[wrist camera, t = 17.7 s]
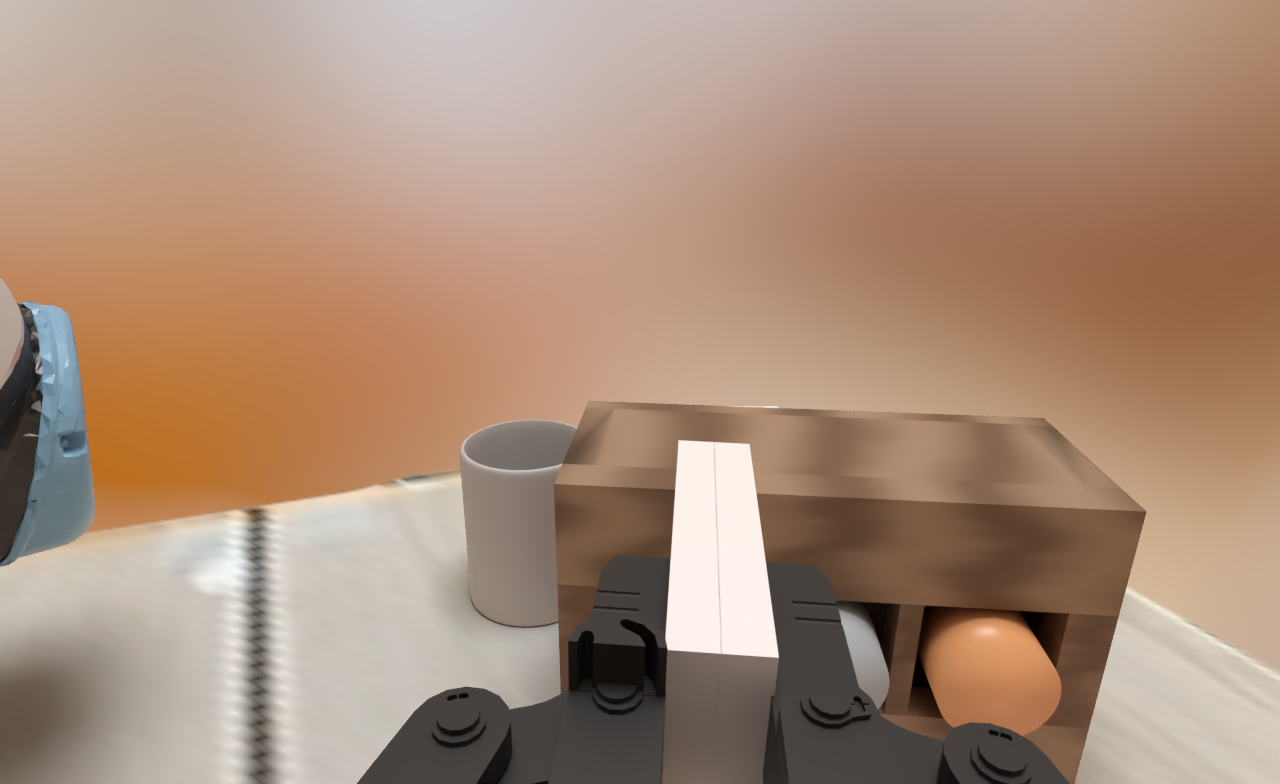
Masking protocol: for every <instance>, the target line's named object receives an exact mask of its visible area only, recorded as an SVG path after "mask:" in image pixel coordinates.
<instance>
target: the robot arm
mask: <svg viewBox="0 0 1280 784" xmlns="http://www.w3.org/2000/svg"><path fill="white" fill-rule="evenodd" d="M94 515H95V498H94V486H93V477H92V467H91V460H90V452H89V445H88V440H87V427H86V421H85V408H84V400H83V393H82V384H81V378H80V371H79V363H78V356H77V349H76V343H75V336H74V331H73V325H72V320H71V318H70V316H69V315H68V313H67V312H66V311H65V310H63V309H61V308H59V307H57V306H51V305H39V304H36V303H34V302H22V303H17V301H16V300H15V298H14V296H13V294H12V293H11V291H10V290H9V288H8V286H7V285H6V284H5V283H4V282H3V281H2V280H1V279H0V567H1V566H6V565H9V564H11V563H12V562H14V561H15V560H16V559H17V558H20V557H24V556H27V555H31V554H35V553H38V552H42V551H45V550H49V549H53V548H56V547H60V546H63V545H66V544H69V543H71V542H73V541H75V540H76V539H78V538H79V537H81V536H82V535H83V534H84V533H85V532H86V531H87V529H88V528H89V527H90V525H91V523H92V521H93V519H94ZM568 674H569V688H568V689H566V690H565V691H564V692H563V693H561V694H560V695H558V696H556V697H554V698H552V699H550V700H548V701H546V702H543V703H539V704H535V705H532V706H526V707H521V708H515V709H510V710H509V707H508V706H507V705H506V704H505V702H504V701H503V700H502V699H501V698H500V696H498V695H496V694H494V693H492V692H490V691H488V690H486V689H482V688H472V687H462V688H456V689H451V690H446V691H444V692H442V693H440V694H438V695H435V696H433V697H431V698H429V699H428V700H427V701H426V702H424V703H423V704H422V705H421V706H420V707H419V708H418V709H417V710H415V711H414V713H413V714H412V715H411V716H410V718H409V719H408V720H407V721H406V723H405V724H404V725H403V726H402V728H401V729H400V730H399V731H398V733H397V734H396V735H395V736H394V738H393V739H392V740H391V741H390V743H389V744H388V745H387V746H386V748H385V749H384V750H383V751H382V753H381V754H380V755H379V756H378V758H377V759H376V760H375V761H374V763H373V764H372V765H371V766H370V768H369V769H368V770H367V771H366V773H365V774H364V775H363V777H362V778H361V779H360V780H359V782H358V783H357V784H1070V783H1069V782H1068V781H1067V780H1066V778H1065V777H1064V776H1063V775H1062V774H1061V772H1060V771H1059V770H1058V769H1057V767H1056V766H1055V765H1054V764H1053V762H1052V761H1051V760H1050V759H1049V757H1048V756H1046V755H1045V754H1044V753H1043V752H1042V751H1041V750H1040V749H1039V748H1038V747H1037V746H1036V745H1035V744H1034V743H1033V742H1031V741H1030V740H1028V739H1026V738H1025V737H1023V736H1021V735H1019V734H1018V733H1016V732H1014V731H1012V730H1010V729H1007V728H1004V727H1000V726H997V725H994V724H991V723H973V722H970V723H967V724H963V725H960V726H957V727H954V728H953V729H952V731H951V732H950V733H949V734H948V735H947V736H946V737H945V740H944V742H942V741H939V740H936V739H933V738H930V737H927V736H924V735H921V734H918V733H915V732H912V731H909V730H907V729H904V728H902V727H900V726H897V725H895V724H894V723H892V722H891V721H889V720H887V719H886V718H884V717H882V716H881V715H880V713H879V711H878V709H877V707H876V705H875V703H874V702H873V700H872V698H871V697H870V696H869V695H867V694H866V693H865V692H864V691H863V690H862V689H861V688H860V687H859V685H858V681H857V677H856V674H855V670H854V666H853V662H852V659H851V655H850V651H849V647H848V644H847V640H846V636H845V632H844V628H843V625H842V624H841V617H840V613H839V610H838V608H837V602H836V598H835V595H834V591H833V587H832V583H831V582H830V581H829V580H828V579H827V578H826V577H825V576H824V575H823V574H822V572H821V571H820V570H819V569H818V568H817V567H816V566H815V565H803V564H787V563H772V562H766V560H765V553H764V545H763V538H762V531H761V524H760V516H759V509H758V502H757V494H756V487H755V480H754V473H753V465H752V458H751V451H750V444H740V443H721V442H703V441H684V440H679V442H678V457H677V472H676V487H675V502H674V517H673V532H672V547H671V558H660V557H644V556H629V555H615V556H614V558H613V559H612V560H611V561H610V562H609V563H608V564H607V565H606V566H605V567H604V568H603V569H602V570H601V573H600V578H599V583H598V588H597V594H596V597H595V602H594V609H593V611H592V616H591V619H588V620H586V621H585V622H583V623H582V624H581V625H579V626H578V627H577V628H575V629H574V631H573V633H572V635H571V637H570V639H569V640H568Z"/></svg>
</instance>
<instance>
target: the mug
mask: <svg viewBox="0 0 1280 784" xmlns="http://www.w3.org/2000/svg"><path fill="white" fill-rule="evenodd" d="M576 430H577V427H575V426H572V425H569V424H566V423H562V422H556V421H550V420H517V421H510V422H504V423H499V424H495V425H491V426H488V427H486V428H483V429H481V430H479V431H477V432H475V433H473V434H471V435H470V436H469V437H468V438H467V439H466V440H465V441H464V442H463V444H462V446H461V449H460V465H461V478H462V490H463V503H464V515H465V528H466V540H467V554H468V571H469V588H470V595H471V599H472V601H473V604H474V606H475V607H476V608H477V610H478V611H479V612H480V613H481V614H483V615H484V616H486V617H487V618H489V619H491V620H493V621H496V622H498V623H501V624H505V625H511V626H520V627H532V626H541V625H547V624H551V623H555V622H558V621H559V619H558V590H557V561H556V532H555V503H554V482H555V480H556V478H557V475H558V473H559V471H560V468H561V466H562V463H563V461H564V459H565V456H566V454H567V452H568V449H569V447H570V444H571V442H572V440H573V437H574V435H575V433H576Z"/></svg>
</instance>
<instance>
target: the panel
mask: <svg viewBox="0 0 1280 784" xmlns="http://www.w3.org/2000/svg"><path fill="white" fill-rule="evenodd" d="M679 440H684V441H703V442H721V443H740V444H750V451H751V458H752V465H753V473H754V480H755V487H756V494H757V502H758V509H759V516H760V524H761V531H762V538H763V545H764V553H765V560H766V562H772V563H787V564H803V565H815V566H816V567H817V568H818V569H819V570H820V571H821V572H822V574H823V575H824V576H825V577H826V578H827V579H828V580H829V581H830V582H831V583H832V587H833V591H834V595H835V598H836V600H839V601H857V602H865V604H866V606H867V608H868V610H869V613H870V616H871V619H872V622H873V625H874V629H875V632H876V635H877V638H878V641H879V644H880V647H881V650H882V653H883V657H884V660H885V663H886V666H887V669H888V673H889V680H890V681H889V690H888V693H887V696H886V698H885V700H884V702H883V704H882V705H881V706H880V708H879V709H878V711H879V713H880V715H881V716H882V717H884V718H886V719H887V720H889V721H891V722H892V723H894V724H895V725H897V726H900V727H902V728H904V729H907V730H909V731H912V732H915V733H918V734H921V735H924V736H927V737H930V738H933V739H936V740H939V741H942V742H944V740H945V737H946V736H947V735H948V734H949V733H950V732H951V731H952V729H953V727H952V726H951V725H949V724H948V722H947V721H946V720H945V719H944V717H943V716H942V714H941V712H940V710H939V707H938V705H937V702H936V700H935V697H934V694H933V692H932V689H931V688H930V687H915V686H912V679H913V674H920V675H926V674H925V671H924V669H923V666H922V663H921V661H920V658H919V656H918V653H917V648H918V642H919V636H920V630H921V623H922V617H923V611H924V608H925V607H926V606H945V607H962V608H980V609H998V610H1015V611H1020V613H1021V614H1022V616H1023V618H1024V619H1025V621H1026V623H1027V624H1028V626H1029V627H1030V629H1031V631H1032V632H1033V634H1034V635H1035V637H1036V639H1037V640H1038V642H1039V643H1040V645H1041V647H1042V648H1043V650H1044V651H1045V653H1046V655H1047V656H1048V658H1049V659H1050V661H1051V663H1052V664H1053V666H1054V667H1055V669H1056V671H1057V672H1058V675H1059V677H1060V681H1061V697H1060V701H1059V704H1058V706H1057V708H1056V710H1055V711H1054V713H1053V714H1052V715H1051V717H1050V718H1049V719H1048V720H1047V721H1046V722H1045V723H1044V724H1042V725H1041V726H1040V727H1038V728H1037V729H1035V730H1034V731H1032V732H1030V733H1028V734H1025V735H1023V737H1025V738H1026V739H1028V740H1030V741H1031V742H1033V743H1034V744H1035V745H1036V746H1037V747H1038V748H1039V749H1040V750H1041V751H1042V752H1043V753H1044V754H1045V755H1046V756H1048V757H1049V759H1050V760H1051V761H1052V762H1053V764H1054V765H1055V766H1056V767H1057V769H1058V770H1059V771H1060V772H1061V774H1062V775H1063V776H1064V777H1065V778H1066V780H1067V781H1068V782H1069V783H1070V784H1074V782H1075V778H1076V775H1077V771H1078V767H1079V763H1080V760H1081V756H1082V752H1083V748H1084V745H1085V741H1086V737H1087V733H1088V729H1089V726H1090V722H1091V718H1092V714H1093V711H1094V707H1095V703H1096V699H1097V696H1098V692H1099V688H1100V684H1101V681H1102V677H1103V673H1104V669H1105V666H1106V662H1107V658H1108V654H1109V650H1110V647H1111V643H1112V639H1113V635H1114V632H1115V628H1116V624H1117V620H1118V617H1119V613H1120V609H1121V605H1122V602H1123V598H1124V594H1125V590H1126V587H1127V583H1128V579H1129V575H1130V571H1131V568H1132V564H1133V560H1134V556H1135V553H1136V549H1137V545H1138V541H1139V538H1140V534H1141V530H1142V526H1143V523H1144V519H1145V515H1146V511H1145V510H1144V509H1143V508H1142V507H1141V506H1140V505H1139V504H1138V503H1136V502H1135V501H1134V500H1133V499H1132V498H1131V497H1130V496H1129V495H1128V494H1127V493H1125V492H1124V491H1123V490H1122V489H1121V488H1120V487H1119V486H1118V485H1117V484H1116V483H1114V482H1113V481H1112V480H1111V479H1110V478H1109V477H1108V476H1107V475H1106V474H1105V473H1103V472H1102V471H1101V470H1100V469H1099V468H1098V467H1097V466H1096V465H1095V464H1094V463H1092V462H1091V461H1090V460H1089V459H1088V458H1087V457H1086V456H1085V455H1084V454H1083V453H1081V452H1080V451H1079V450H1078V449H1077V448H1076V447H1075V446H1074V445H1072V444H1071V443H1070V442H1069V441H1068V440H1067V439H1066V438H1065V437H1064V436H1063V435H1062V434H1060V433H1059V432H1058V431H1057V430H1056V429H1055V428H1054V427H1053V426H1052V425H1050V424H1049V423H1048V422H1047V421H1046V420H1045V419H1044V418H1023V417H1022V418H1021V417H996V416H970V415H943V414H917V413H915V414H914V413H891V412H888V413H887V412H864V411H835V410H811V409H783V408H758V407H732V406H706V405H679V404H653V403H626V402H600V401H589V402H588V404H587V407H586V409H585V412H584V414H583V416H582V418H581V421H580V423H579V426H578V428H577V430H576V433H575V435H574V437H573V440H572V442H571V444H570V447H569V449H568V452H567V454H566V456H565V459H564V461H563V463H562V466H561V468H560V471H559V473H558V475H557V478H556V480H555V482H554V503H555V532H556V561H557V590H558V619H559V648H560V677H561V693H563V692H564V691H565V690H566V689H568V688H569V674H568V640H569V639H570V637H571V635H572V633H573V631H574V629H575V628H577V627H578V626H579V625H581V624H582V623H583V622H585V621H586V620H588V619H591V616H592V611H593V609H594V602H595V597H596V594H597V588H598V583H599V578H600V573H601V570H602V569H603V568H604V567H605V566H606V565H607V564H608V563H609V562H610V561H611V560H612V559H613V558H614V556H615V555H629V556H644V557H660V558H671V547H672V532H673V517H674V502H675V487H676V472H677V457H678V442H679Z"/></svg>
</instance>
